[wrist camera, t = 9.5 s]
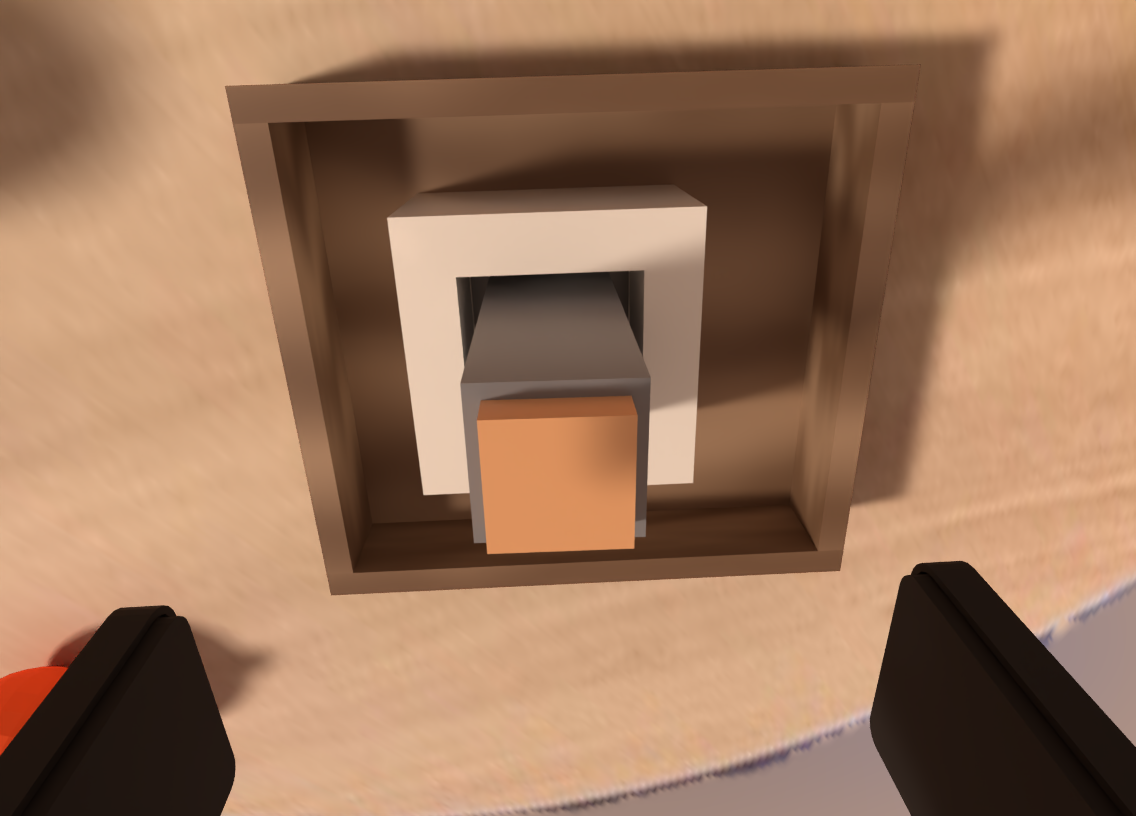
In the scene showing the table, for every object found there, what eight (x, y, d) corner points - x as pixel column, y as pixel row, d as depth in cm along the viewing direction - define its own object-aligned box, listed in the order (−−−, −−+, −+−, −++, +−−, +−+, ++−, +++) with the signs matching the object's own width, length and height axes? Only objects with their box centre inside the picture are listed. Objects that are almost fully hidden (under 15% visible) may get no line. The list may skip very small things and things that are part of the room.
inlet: (417, 193, 24) (387, 217, 20) (673, 184, 25) (707, 206, 20) (443, 425, 28) (423, 494, 23) (666, 415, 28) (693, 483, 23)
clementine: (140, 619, 32) (40, 750, 26) (197, 725, 35) (120, 869, 29) (-26, 645, 32) (-167, 782, 26) (44, 749, 35) (-67, 896, 29)
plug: (490, 273, 24) (455, 402, 14) (607, 269, 24) (658, 396, 14) (497, 382, 25) (469, 570, 15) (607, 378, 25) (651, 562, 15)
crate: (273, 87, 23) (225, 85, 20) (862, 69, 24) (921, 64, 20) (355, 536, 31) (331, 595, 27) (804, 515, 31) (839, 570, 28)
